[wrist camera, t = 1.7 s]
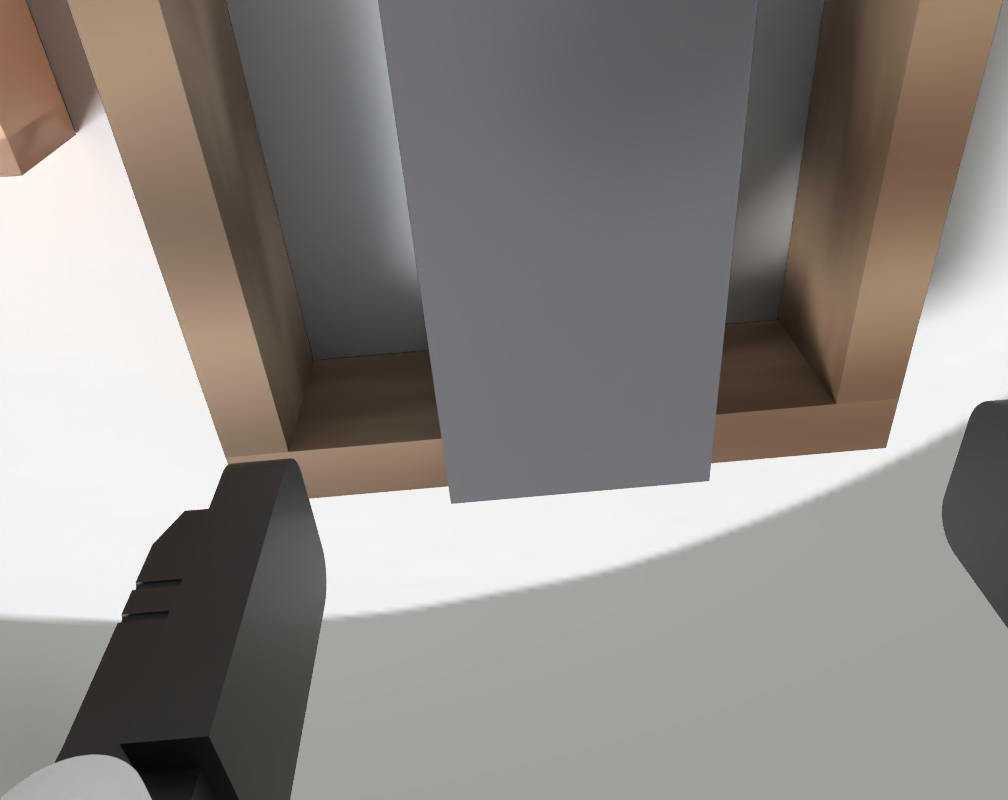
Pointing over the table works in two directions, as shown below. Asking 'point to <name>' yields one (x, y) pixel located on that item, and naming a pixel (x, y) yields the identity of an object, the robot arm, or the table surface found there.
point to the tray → (27, 95)
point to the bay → (408, 376)
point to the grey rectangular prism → (572, 230)
